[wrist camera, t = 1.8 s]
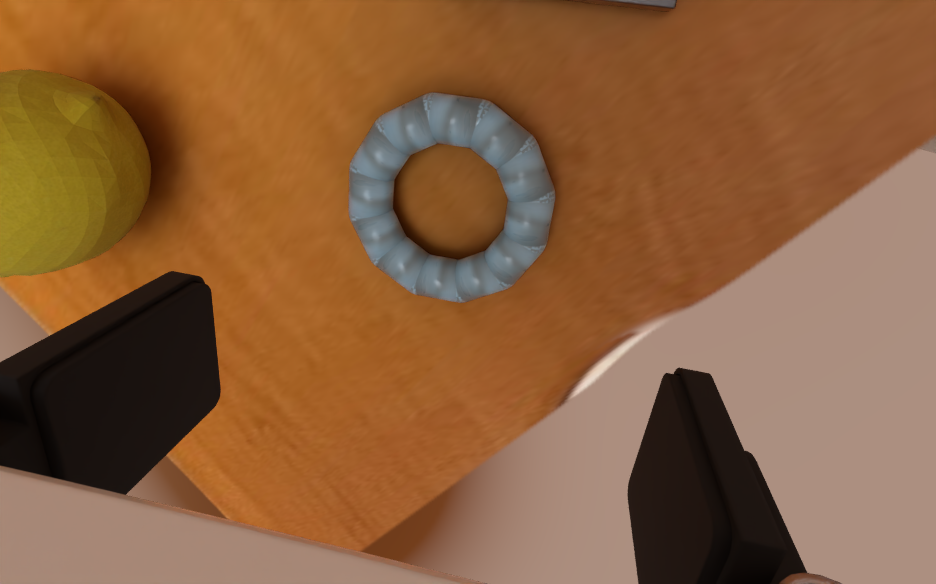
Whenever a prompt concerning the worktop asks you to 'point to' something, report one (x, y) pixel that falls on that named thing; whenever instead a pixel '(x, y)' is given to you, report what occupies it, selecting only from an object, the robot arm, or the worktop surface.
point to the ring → (492, 141)
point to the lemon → (65, 172)
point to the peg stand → (637, 4)
